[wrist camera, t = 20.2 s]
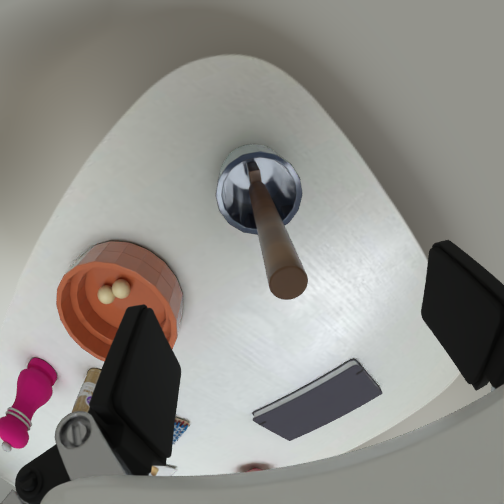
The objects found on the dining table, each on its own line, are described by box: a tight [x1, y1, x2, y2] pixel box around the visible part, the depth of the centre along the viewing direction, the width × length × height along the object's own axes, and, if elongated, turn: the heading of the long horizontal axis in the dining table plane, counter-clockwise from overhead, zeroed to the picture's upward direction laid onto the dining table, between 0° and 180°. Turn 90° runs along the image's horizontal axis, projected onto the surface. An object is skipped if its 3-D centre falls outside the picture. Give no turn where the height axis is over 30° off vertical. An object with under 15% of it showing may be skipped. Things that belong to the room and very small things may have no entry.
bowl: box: [56, 241, 183, 362], centre depth 34 cm, size 15×15×6 cm
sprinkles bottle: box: [72, 368, 101, 413], centre depth 37 cm, size 5×5×14 cm
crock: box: [216, 144, 302, 235], centre depth 28 cm, size 7×7×8 cm
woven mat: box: [172, 417, 190, 444], centre depth 49 cm, size 10×11×2 cm
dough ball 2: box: [112, 279, 131, 299], centre depth 34 cm, size 2×2×2 cm
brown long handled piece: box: [246, 162, 308, 300], centre depth 22 cm, size 4×2×21 cm, turn 10°
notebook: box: [252, 359, 382, 441], centre depth 48 cm, size 13×2×21 cm
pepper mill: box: [0, 358, 57, 452], centre depth 34 cm, size 7×7×20 cm
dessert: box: [151, 466, 177, 476], centre depth 58 cm, size 12×12×5 cm
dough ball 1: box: [97, 285, 115, 304], centre depth 35 cm, size 2×2×2 cm
